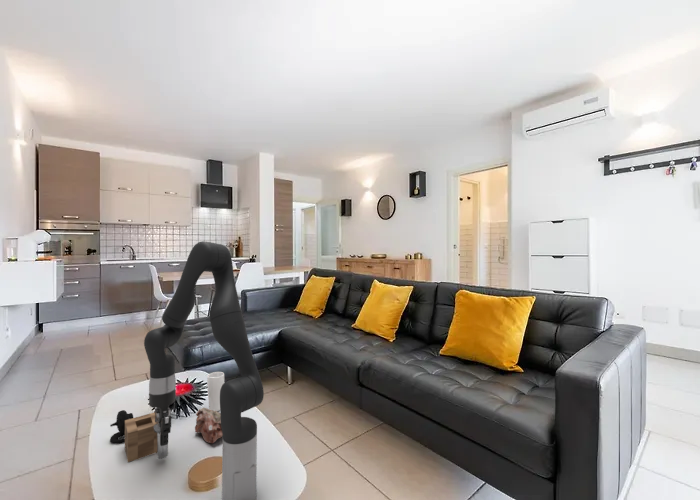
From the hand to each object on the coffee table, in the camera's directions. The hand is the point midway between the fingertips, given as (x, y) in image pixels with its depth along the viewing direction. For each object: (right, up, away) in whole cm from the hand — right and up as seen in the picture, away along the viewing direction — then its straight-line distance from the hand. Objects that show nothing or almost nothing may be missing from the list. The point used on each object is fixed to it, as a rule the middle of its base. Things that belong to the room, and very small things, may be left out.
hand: (162, 440), depth 106 cm
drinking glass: (+3, -7, +34) cm, 35 cm away
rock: (+9, -7, +16) cm, 20 cm away
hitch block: (-10, -7, +6) cm, 14 cm away
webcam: (-22, -7, +13) cm, 26 cm away
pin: (0, -5, 0) cm, 5 cm away
